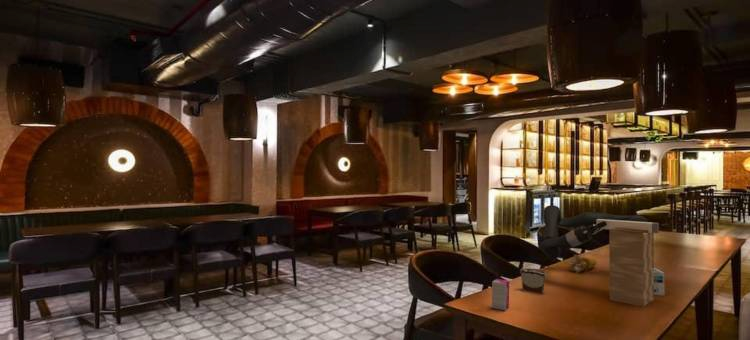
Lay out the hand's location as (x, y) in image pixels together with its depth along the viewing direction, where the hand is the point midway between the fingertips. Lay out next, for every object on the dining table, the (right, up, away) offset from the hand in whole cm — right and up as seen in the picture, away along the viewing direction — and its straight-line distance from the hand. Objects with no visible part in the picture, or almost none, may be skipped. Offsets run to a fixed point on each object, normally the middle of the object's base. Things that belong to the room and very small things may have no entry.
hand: (609, 222), depth 201 cm
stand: (+4, -33, -10) cm, 35 cm away
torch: (+11, -33, +46) cm, 58 cm away
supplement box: (-57, -33, -22) cm, 70 cm away
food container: (-33, -33, +4) cm, 47 cm away
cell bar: (+5, -3, -6) cm, 8 cm away
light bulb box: (+21, -33, +1) cm, 39 cm away
